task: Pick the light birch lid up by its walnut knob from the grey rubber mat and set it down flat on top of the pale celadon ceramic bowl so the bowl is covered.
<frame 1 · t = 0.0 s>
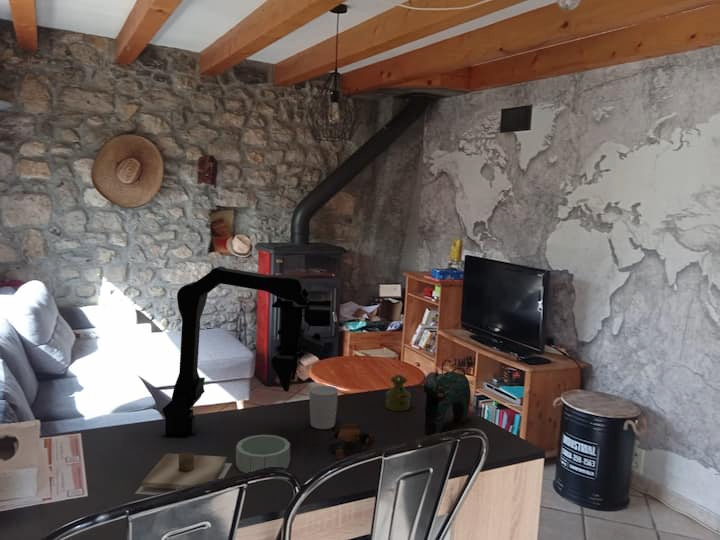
hand: (289, 385, 151), 15 cm above the breakfast bar, fingers open, 9 cm apart
brown piece: (351, 453, 147), on the breakfast bar
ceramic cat: (444, 428, 166), on the breakfast bar
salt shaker: (397, 408, 180), on the breakfast bar
white cup: (322, 425, 164), on the breakfast bar
mat: (186, 480, 129), on the breakfast bar
lid: (186, 477, 129), point 1 cm above the breakfast bar, touching mat
bowl: (263, 465, 138), on the breakfast bar
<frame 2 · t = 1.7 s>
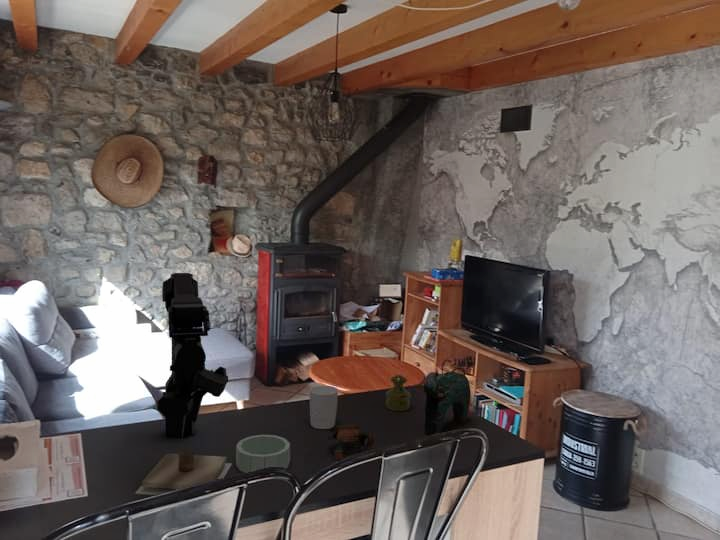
hand: (186, 429, 128), 12 cm above the breakfast bar, fingers open, 9 cm apart
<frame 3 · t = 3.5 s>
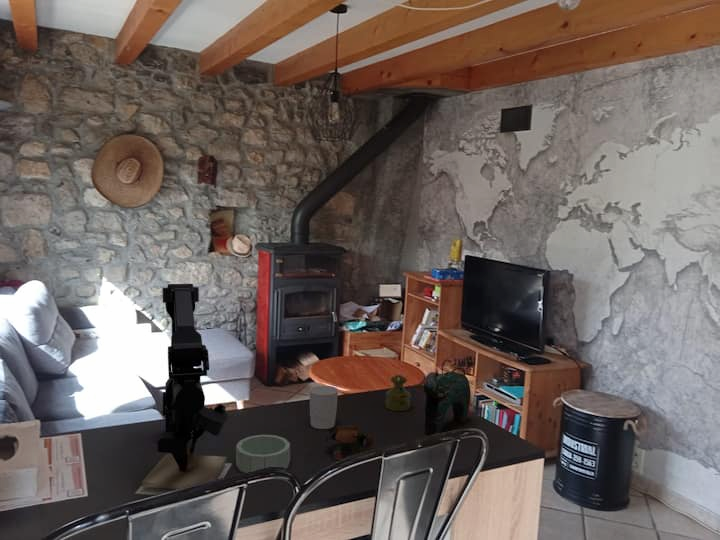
hand: (186, 467, 129), 3 cm above the breakfast bar, fingers closed on lid, 3 cm apart
lid: (186, 477, 129), point 1 cm above the breakfast bar, touching gripper, mat
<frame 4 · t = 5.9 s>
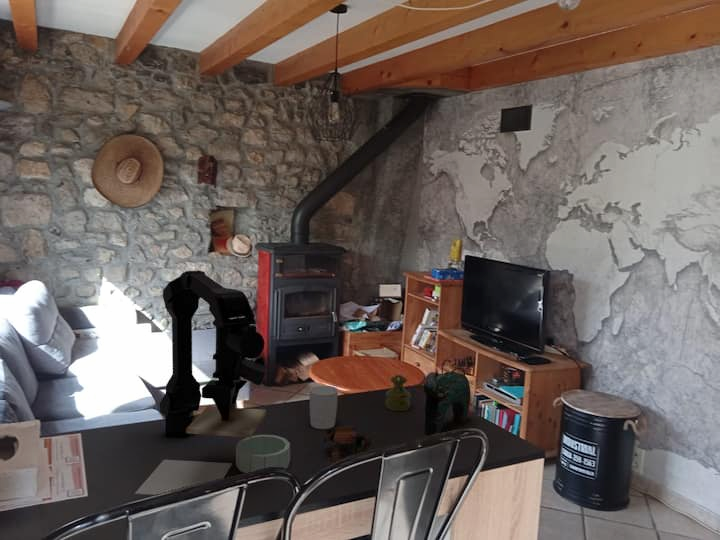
hand: (228, 416, 132), 13 cm above the breakfast bar, fingers closed on lid, 3 cm apart
lid: (228, 427, 132), point 11 cm above the breakfast bar, touching gripper
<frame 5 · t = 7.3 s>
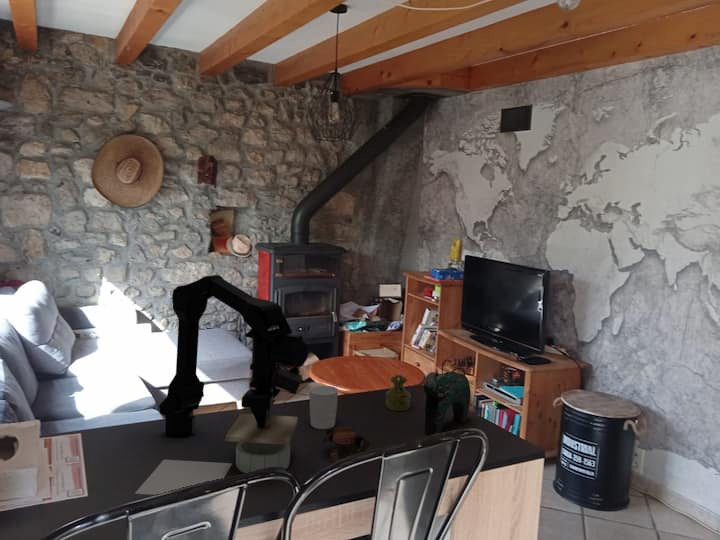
hand: (263, 424, 137), 10 cm above the breakfast bar, fingers closed on lid, 3 cm apart
lid: (263, 434, 137), point 8 cm above the breakfast bar, touching gripper
when the fingers open (8 cm above the breakfast bar, at t = 8.4 s): lid drops 1 cm, resting on bowl.
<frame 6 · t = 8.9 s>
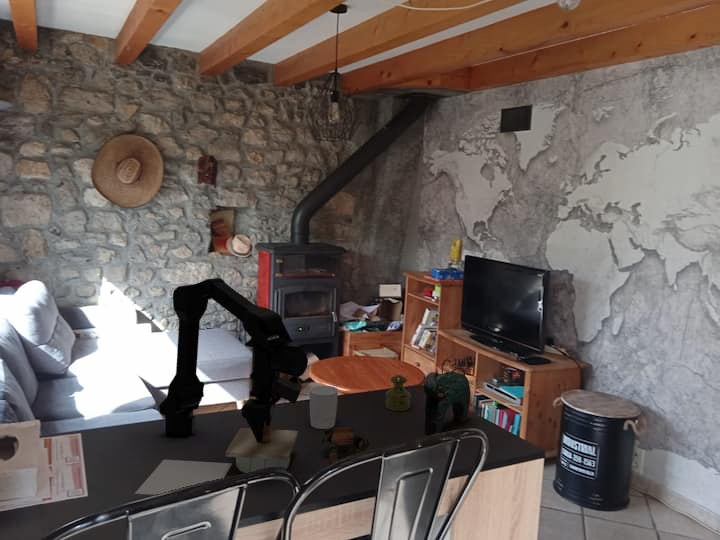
hand: (263, 433, 137), 8 cm above the breakfast bar, fingers open, 9 cm apart
lid: (263, 449, 137), point 4 cm above the breakfast bar, touching bowl
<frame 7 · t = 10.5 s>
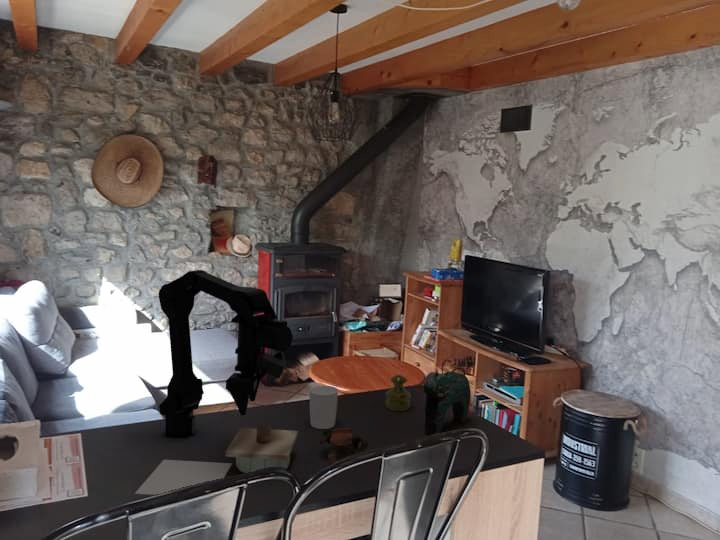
hand: (247, 407, 140), 12 cm above the breakfast bar, fingers open, 9 cm apart
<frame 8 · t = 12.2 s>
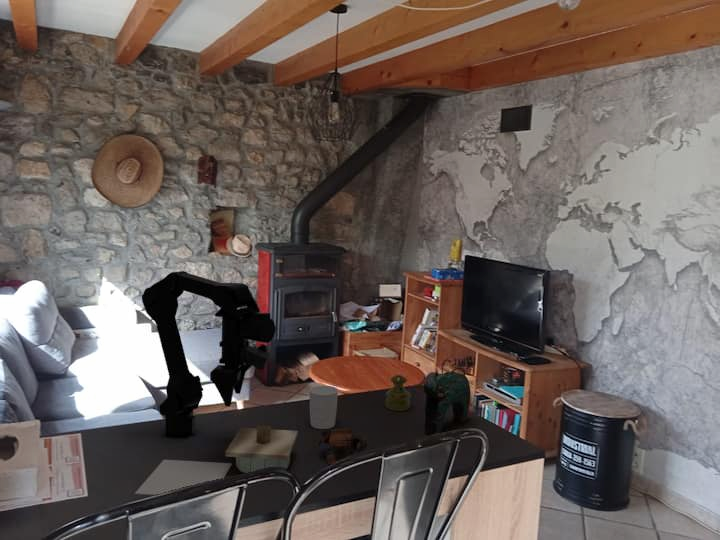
hand: (233, 399, 144), 13 cm above the breakfast bar, fingers open, 9 cm apart
at the end: lid 0.0 cm from the bowl (horizontally); lid point 4.0 cm above the breakfast bar; lid tilted 0° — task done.
